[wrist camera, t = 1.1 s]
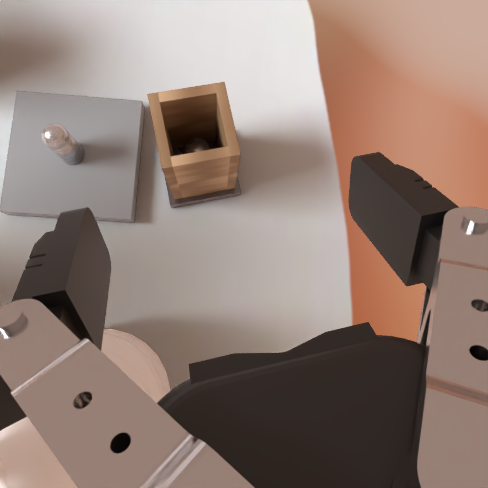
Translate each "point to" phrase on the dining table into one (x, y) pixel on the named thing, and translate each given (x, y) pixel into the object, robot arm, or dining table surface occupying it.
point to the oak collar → (196, 126)
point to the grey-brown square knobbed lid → (192, 147)
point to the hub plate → (85, 180)
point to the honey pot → (35, 448)
